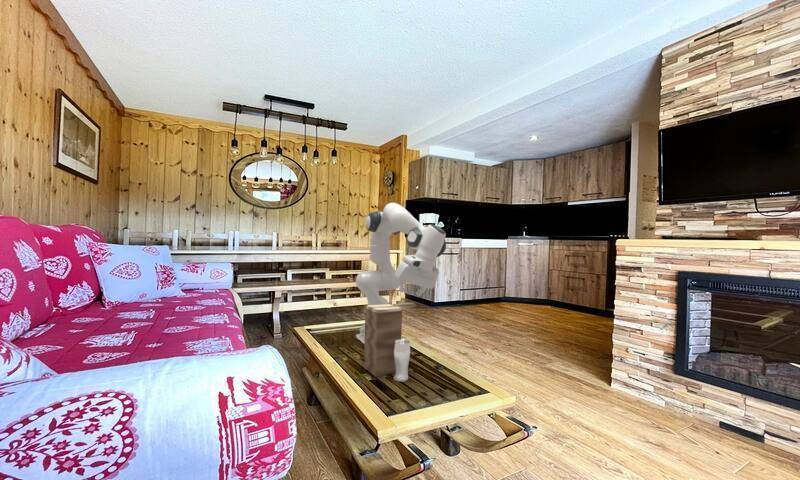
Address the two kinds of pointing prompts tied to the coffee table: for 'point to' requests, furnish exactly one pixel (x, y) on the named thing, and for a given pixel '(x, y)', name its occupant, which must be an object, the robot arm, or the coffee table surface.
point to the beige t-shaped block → (389, 307)
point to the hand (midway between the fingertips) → (409, 293)
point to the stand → (381, 340)
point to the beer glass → (401, 359)
